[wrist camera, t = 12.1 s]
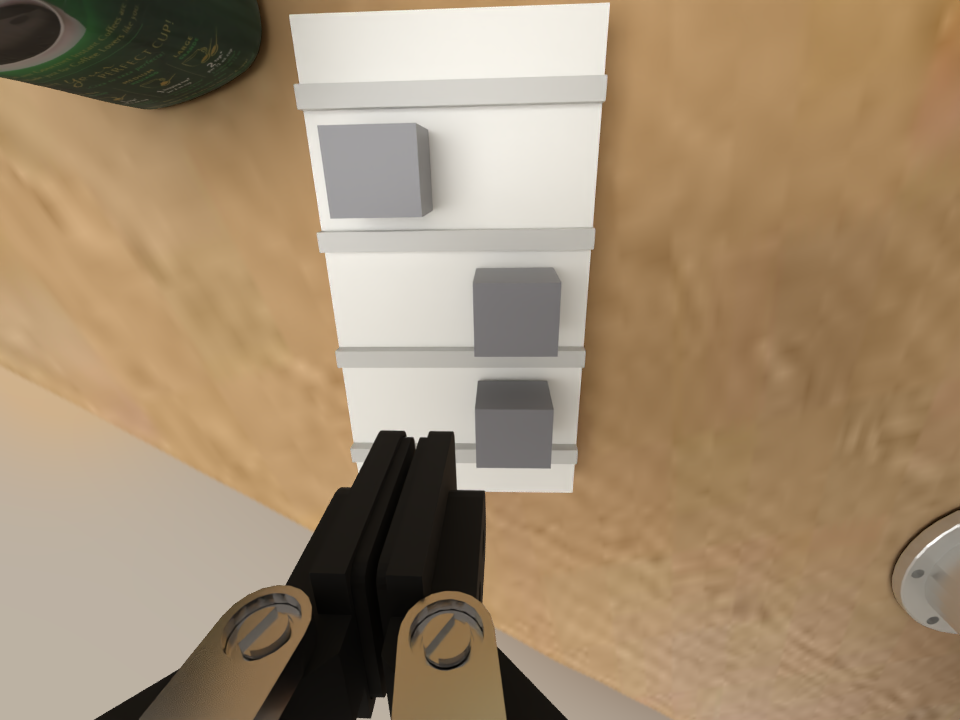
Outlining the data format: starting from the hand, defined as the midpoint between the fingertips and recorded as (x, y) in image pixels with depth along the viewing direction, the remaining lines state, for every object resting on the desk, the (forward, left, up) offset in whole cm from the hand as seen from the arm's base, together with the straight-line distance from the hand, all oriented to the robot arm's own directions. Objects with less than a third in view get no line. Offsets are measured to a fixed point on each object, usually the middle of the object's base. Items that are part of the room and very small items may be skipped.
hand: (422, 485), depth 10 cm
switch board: (+1, 0, -18) cm, 18 cm away
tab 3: (-2, +6, -15) cm, 16 cm away
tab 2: (-3, 0, -15) cm, 15 cm away
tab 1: (+4, -7, -15) cm, 17 cm away
